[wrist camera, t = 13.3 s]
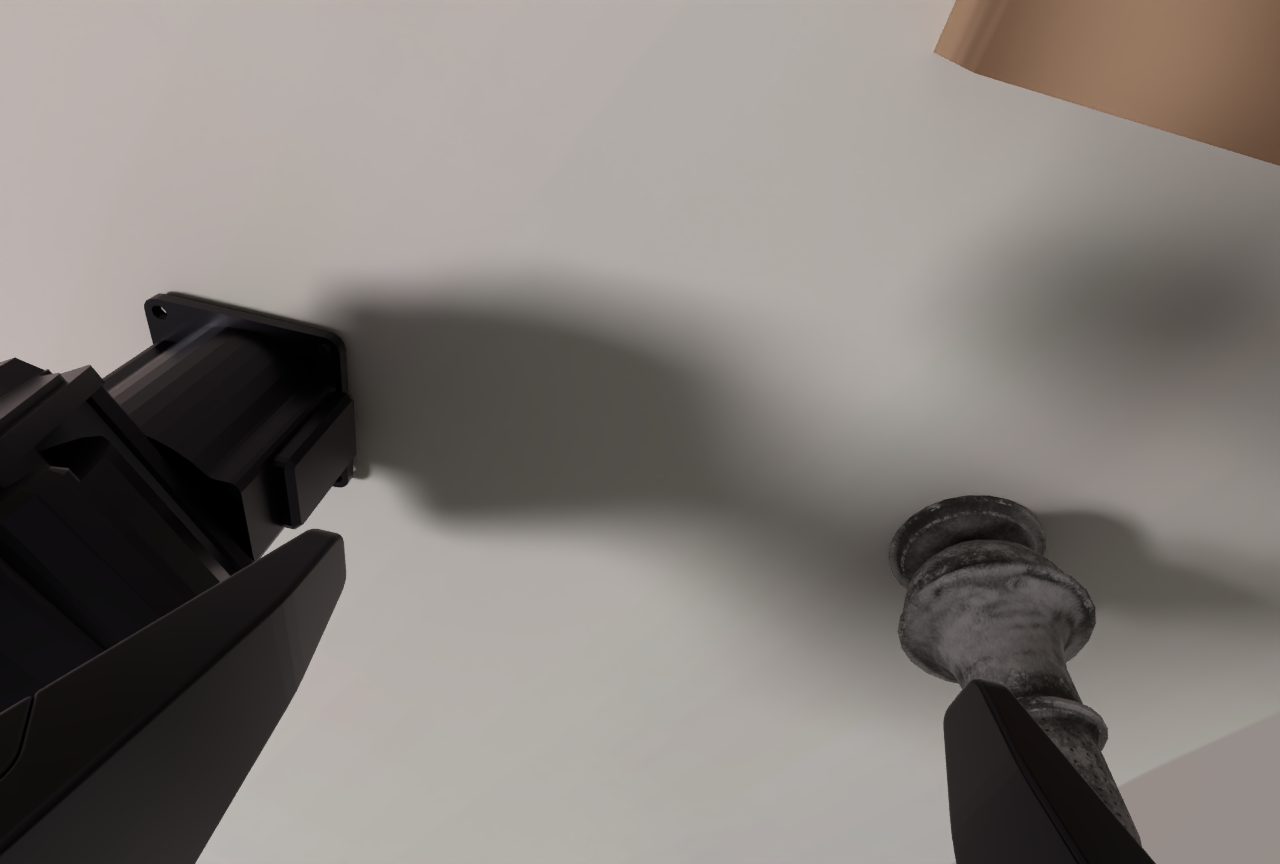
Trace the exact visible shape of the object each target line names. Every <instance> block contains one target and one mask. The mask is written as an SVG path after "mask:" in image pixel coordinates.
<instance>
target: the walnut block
mask: <svg viewBox="0 0 1280 864" xmlns="http://www.w3.org/2000/svg"><path fill="white" fill-rule="evenodd" d="M934 52H935V53H937V54H939V55H940V56H942V57H944V58H946V59H948V60H950V61H952V62H954V63H956V64H958V65H960V66H962V67H964V68H966V69H968V70H970V71H972V72H974V73H976V74H980V75H983V76H986V77H989V78H993V79H996V80H999V81H1003V82H1006V83H1009V84H1013V85H1016V86H1019V87H1022V88H1026V89H1029V90H1032V91H1036V92H1039V93H1042V94H1045V95H1049V96H1052V97H1055V98H1059V99H1062V100H1065V101H1068V102H1072V103H1075V104H1078V105H1082V106H1085V107H1088V108H1092V109H1095V110H1098V111H1101V112H1105V113H1108V114H1111V115H1115V116H1118V117H1121V118H1124V119H1128V120H1131V121H1134V122H1138V123H1141V124H1144V125H1148V126H1151V127H1154V128H1157V129H1161V130H1164V131H1167V132H1171V133H1174V134H1177V135H1180V136H1184V137H1187V138H1190V139H1194V140H1197V141H1200V142H1203V143H1207V144H1210V145H1213V146H1217V147H1220V148H1223V149H1227V150H1230V151H1233V152H1236V153H1240V154H1243V155H1246V156H1250V157H1253V158H1256V159H1259V160H1263V161H1266V162H1269V163H1273V164H1276V165H1279V166H1280V0H956V2H955V4H954V7H953V9H952V11H951V13H950V16H949V18H948V20H947V22H946V25H945V27H944V29H943V31H942V34H941V36H940V38H939V41H938V43H937V45H936V47H935V50H934Z"/></svg>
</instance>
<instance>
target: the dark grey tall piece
mask: <svg viewBox="0 0 1280 864" xmlns="http://www.w3.org/2000/svg"><path fill="white" fill-rule="evenodd" d="M1045 548H1046V546H1045V534H1044V532H1043V530H1042V528H1041V526H1040V524H1039V522H1038V520H1037V518H1036V517H1034V516H1033V515H1032V514H1031V513H1030V512H1029V511H1028V510H1027V509H1025V508H1024V507H1022V506H1020V505H1018V504H1016V503H1014V502H1011V501H1009V500H1006V499H1001V498H996V497H991V496H963V497H958V498H952V499H947V500H944V501H941V502H939V503H936V504H933V505H931V506H928V507H926V508H924V509H923V510H921V511H920V512H918V513H917V514H915V515H913V516H912V517H910V518H909V519H908V520H907V521H906V522H905V523H904V524H903V525H902V526H901V527H900V529H899V530H898V531H897V533H896V535H895V537H894V539H893V540H892V542H891V546H890V553H889V560H890V564H891V568H892V572H893V574H894V575H895V577H896V578H897V580H898V581H899V583H900V584H901V585H903V586H904V587H905V588H906V589H908V590H907V594H906V597H905V603H904V609H903V613H902V614H901V616H900V622H899V628H898V634H899V638H900V642H901V646H902V649H903V651H904V652H905V653H906V655H907V656H908V658H909V659H910V660H911V662H913V663H914V664H915V665H917V666H918V667H919V668H921V669H922V670H924V671H925V672H926V673H928V674H931V675H933V676H936V677H938V678H940V679H943V680H945V681H949V682H954V683H959V684H960V686H961V688H962V690H963V688H964V687H965V686H966V685H967V683H968V682H969V681H971V680H973V679H975V678H978V679H983V680H988V681H992V682H997V683H1000V684H1002V685H1004V686H1006V687H1007V688H1008V689H1009V690H1010V691H1011V692H1012V694H1013V695H1014V696H1015V697H1016V698H1017V699H1018V701H1019V702H1020V703H1021V704H1022V705H1023V707H1024V708H1025V709H1026V710H1027V711H1028V713H1029V714H1030V715H1031V716H1032V717H1033V718H1034V720H1035V721H1036V722H1037V723H1038V724H1039V726H1040V727H1041V728H1042V729H1043V730H1044V732H1045V733H1046V734H1047V735H1048V736H1049V737H1050V739H1051V740H1052V741H1053V742H1054V743H1055V745H1056V746H1057V747H1058V748H1059V749H1060V751H1061V752H1062V753H1063V754H1064V755H1065V756H1066V758H1067V759H1068V760H1069V761H1070V762H1071V764H1072V765H1073V766H1074V767H1075V768H1076V770H1077V771H1078V772H1079V773H1080V774H1081V775H1082V777H1083V778H1084V779H1085V780H1086V781H1087V783H1088V784H1089V785H1090V786H1091V787H1092V788H1093V790H1094V791H1095V792H1096V793H1097V794H1098V796H1099V797H1100V798H1101V799H1102V800H1103V802H1104V803H1105V804H1106V805H1107V806H1108V807H1109V809H1110V810H1111V811H1112V812H1113V813H1114V815H1115V816H1116V817H1117V818H1118V819H1119V821H1120V822H1121V823H1122V824H1123V825H1124V826H1125V828H1126V829H1127V830H1128V831H1129V832H1130V834H1131V835H1132V836H1133V837H1134V838H1135V840H1136V841H1137V842H1138V843H1139V844H1140V845H1141V840H1140V836H1139V834H1138V832H1137V830H1136V827H1135V825H1134V823H1133V821H1132V818H1131V816H1130V814H1129V812H1128V810H1127V807H1126V805H1125V803H1124V801H1123V799H1122V796H1121V794H1120V792H1119V790H1118V788H1117V785H1116V783H1115V781H1114V779H1113V777H1112V774H1111V772H1110V770H1109V768H1108V766H1107V763H1106V761H1105V759H1104V757H1103V755H1102V752H1101V751H1102V749H1103V748H1104V746H1105V744H1106V741H1107V739H1108V728H1107V726H1106V724H1105V723H1104V721H1103V719H1102V717H1101V716H1100V715H1099V714H1098V713H1096V712H1095V711H1094V710H1093V709H1092V708H1090V707H1088V706H1085V705H1083V703H1082V701H1081V699H1080V697H1079V695H1078V692H1077V690H1076V688H1075V686H1074V684H1073V682H1072V679H1071V677H1070V675H1069V673H1068V671H1067V668H1066V662H1067V661H1069V660H1070V659H1072V658H1073V657H1075V656H1076V655H1077V654H1078V652H1079V651H1080V650H1081V649H1082V648H1083V647H1084V645H1085V644H1086V643H1087V642H1088V641H1089V639H1090V636H1091V634H1092V631H1093V629H1094V626H1095V624H1096V619H1095V606H1094V604H1093V602H1092V600H1091V598H1090V596H1089V594H1088V592H1087V590H1086V589H1085V588H1084V587H1083V586H1081V585H1080V584H1079V583H1078V582H1077V581H1076V580H1075V579H1073V578H1072V577H1071V576H1069V575H1067V574H1065V573H1064V572H1062V571H1061V570H1060V569H1059V568H1058V567H1057V566H1055V565H1054V564H1053V563H1052V562H1051V561H1049V560H1048V559H1047V558H1045V557H1044V556H1043V554H1044V551H1045ZM1141 847H1142V845H1141Z"/></svg>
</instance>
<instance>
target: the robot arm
mask: <svg viewBox="0 0 1280 864" xmlns="http://www.w3.org/2000/svg"><path fill="white" fill-rule="evenodd" d="M161 307H162V308H163V309H164V310H165V311H166V313H165V312H164V311H163V310H162V309H161ZM144 309H145V313H146V317H147V321H148V325H149V329H150V333H151V337H152V341H153V345H152V346H150V347H149V348H147V349H146V350H144V351H143V352H141V353H140V354H139V355H137V356H136V357H134V358H133V359H131V360H130V361H128V362H127V363H125V364H124V365H122V366H121V367H119V368H118V369H116V370H115V371H113V372H112V373H110V374H109V375H107V376H106V377H104V378H103V379H102V378H101V377H100V376H99V375H98V373H97V372H96V371H95V370H94V369H93V368H92V366H91V365H87V366H84V367H81V368H78V369H75V370H71V371H68V372H65V373H62V374H60V373H55V374H52V373H51V372H50V370H49V369H47V370H43V369H40V368H38V367H36V366H33V365H31V364H29V363H26V362H24V361H22V360H19V359H17V358H12V359H9V360H6V361H3V362H0V864H195V863H196V861H197V859H198V858H199V856H200V854H201V853H202V851H203V849H204V848H205V846H206V844H207V842H208V841H209V839H210V837H211V836H212V834H213V832H214V831H215V829H216V827H217V826H218V824H219V822H220V820H221V819H222V817H223V815H224V814H225V812H226V810H227V809H228V807H229V805H230V804H231V802H232V800H233V798H234V797H235V795H236V793H237V792H238V790H239V788H240V787H241V785H242V783H243V782H244V780H245V778H246V776H247V775H248V773H249V771H250V770H251V768H252V766H253V765H254V763H255V761H256V760H257V758H258V756H259V755H260V753H261V751H262V749H263V748H264V746H265V744H266V743H267V741H268V739H269V738H270V736H271V734H272V733H273V731H274V729H275V727H276V726H277V724H278V722H279V721H280V719H281V717H282V716H283V714H284V712H285V711H286V709H287V707H288V705H289V704H290V702H291V700H292V698H293V696H294V695H295V693H296V691H297V689H298V687H299V685H300V683H301V681H302V679H303V677H304V674H305V672H306V670H307V668H308V666H309V663H310V661H311V659H312V657H313V655H314V652H315V650H316V648H317V646H318V644H319V641H320V639H321V637H322V635H323V632H324V630H325V628H326V626H327V624H328V621H329V619H330V617H331V615H332V613H333V610H334V608H335V606H336V604H337V601H338V599H339V597H340V595H341V593H342V590H343V587H344V584H345V580H346V564H345V552H344V541H343V538H342V536H341V535H339V534H337V533H333V532H329V531H324V530H320V529H311V530H308V531H306V532H304V533H302V534H300V535H299V536H297V537H295V538H294V539H292V540H290V541H289V542H287V543H285V544H284V545H282V546H280V547H279V548H277V549H275V550H274V551H272V552H270V553H269V554H267V555H265V556H264V557H262V555H263V554H264V553H265V552H266V550H267V549H268V548H269V546H270V545H271V544H272V543H273V541H274V540H275V539H276V538H277V536H278V535H279V534H280V532H281V531H282V530H283V529H284V527H286V528H290V529H296V528H298V527H299V526H301V525H303V524H304V522H305V521H306V520H307V518H308V517H309V516H310V515H311V513H312V512H313V511H314V509H315V508H316V507H317V505H318V504H319V503H320V501H321V500H322V499H323V497H324V496H325V495H326V493H327V492H328V491H329V490H330V488H331V487H332V486H334V487H344V486H346V485H347V484H348V483H349V481H350V480H351V478H352V477H353V461H352V459H353V458H354V457H355V455H356V437H355V420H354V403H353V399H352V398H351V396H350V394H348V382H347V367H346V351H345V345H344V343H343V341H342V340H341V338H340V337H338V336H337V335H336V334H334V333H331V332H328V331H324V330H319V329H315V328H311V327H306V326H302V325H298V324H293V323H289V322H285V321H280V320H276V319H272V318H267V317H263V316H259V315H254V314H250V313H246V312H241V311H237V310H233V309H228V308H224V307H220V306H215V305H211V304H206V303H202V302H198V301H193V300H189V299H185V298H180V297H176V296H172V295H167V294H157V295H155V296H153V297H152V298H150V299H148V300H146V302H145V304H144ZM323 344H326V345H328V346H329V347H330V348H331V350H332V352H331V351H328V350H327V349H326V348H325V347H324V345H323ZM340 475H341V476H340ZM261 557H262V558H261ZM943 725H944V741H945V755H946V769H947V783H948V797H949V811H950V822H951V832H952V840H953V846H954V853H955V858H956V864H1156V863H1155V862H1154V861H1153V860H1152V859H1151V858H1150V856H1149V855H1148V854H1147V853H1146V851H1145V850H1144V849H1143V848H1142V847H1141V845H1140V844H1139V843H1138V842H1137V841H1136V840H1135V838H1134V837H1133V836H1132V835H1131V834H1130V832H1129V831H1128V830H1127V829H1126V828H1125V826H1124V825H1123V824H1122V823H1121V822H1120V821H1119V819H1118V818H1117V817H1116V816H1115V815H1114V813H1113V812H1112V811H1111V810H1110V809H1109V807H1108V806H1107V805H1106V804H1105V803H1104V802H1103V800H1102V799H1101V798H1100V797H1099V796H1098V794H1097V793H1096V792H1095V791H1094V790H1093V788H1092V787H1091V786H1090V785H1089V784H1088V783H1087V781H1086V780H1085V779H1084V778H1083V777H1082V775H1081V774H1080V773H1079V772H1078V771H1077V770H1076V768H1075V767H1074V766H1073V765H1072V764H1071V762H1070V761H1069V760H1068V759H1067V758H1066V756H1065V755H1064V754H1063V753H1062V752H1061V751H1060V749H1059V748H1058V747H1057V746H1056V745H1055V743H1054V742H1053V741H1052V740H1051V739H1050V737H1049V736H1048V735H1047V734H1046V733H1045V732H1044V730H1043V729H1042V728H1041V727H1040V726H1039V724H1038V723H1037V722H1036V721H1035V720H1034V718H1033V717H1032V716H1031V715H1030V714H1029V713H1028V711H1027V710H1026V709H1025V708H1024V707H1023V705H1022V704H1021V703H1020V702H1019V701H1018V699H1017V698H1016V697H1015V696H1014V695H1013V694H1012V692H1011V691H1010V690H1009V689H1008V688H1007V687H1006V686H1004V685H1002V684H1000V683H997V682H992V681H988V680H983V679H978V678H975V679H973V680H971V681H969V682H968V683H967V685H966V686H965V687H964V688H963V690H962V691H961V692H960V693H959V695H958V696H957V697H956V698H955V700H954V701H953V702H952V703H951V705H950V706H949V707H948V709H947V711H946V713H945V716H944V724H943Z"/></svg>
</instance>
